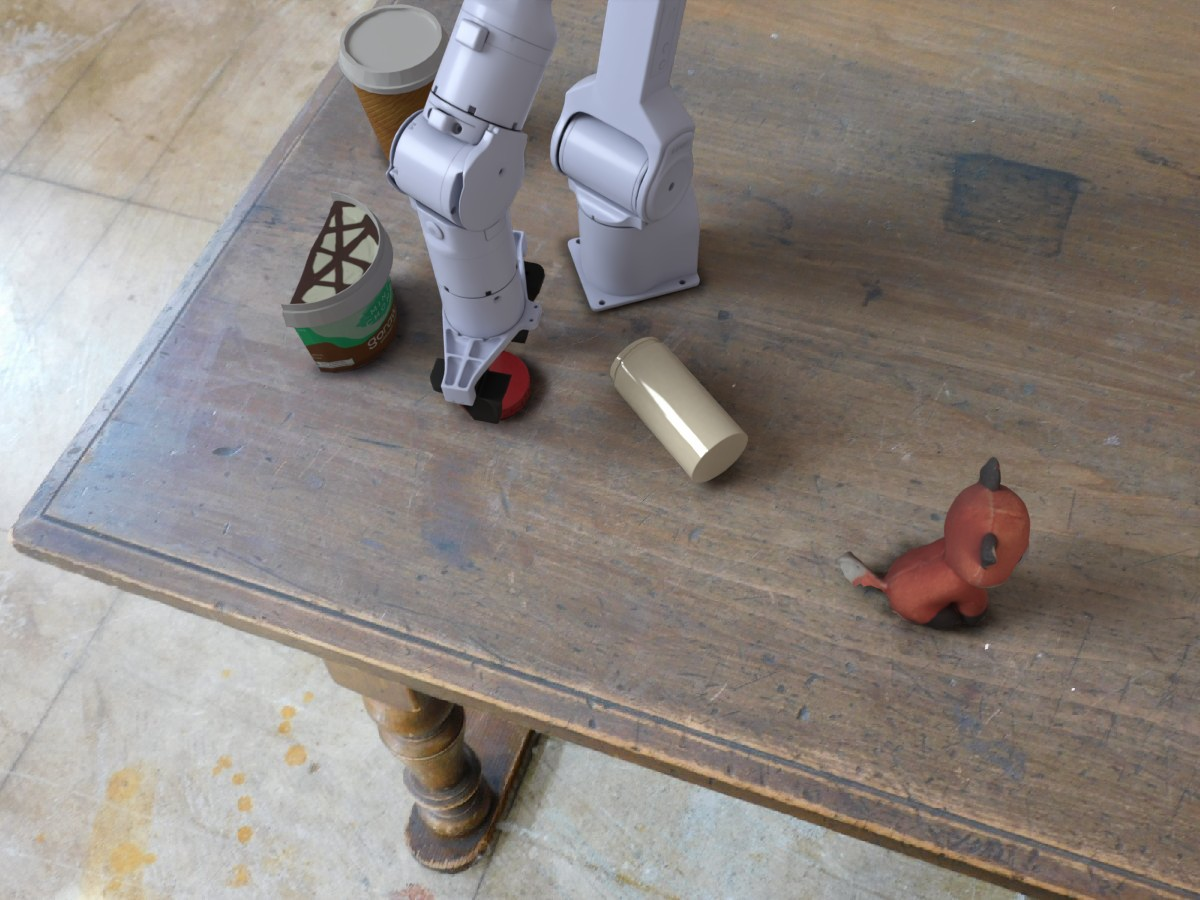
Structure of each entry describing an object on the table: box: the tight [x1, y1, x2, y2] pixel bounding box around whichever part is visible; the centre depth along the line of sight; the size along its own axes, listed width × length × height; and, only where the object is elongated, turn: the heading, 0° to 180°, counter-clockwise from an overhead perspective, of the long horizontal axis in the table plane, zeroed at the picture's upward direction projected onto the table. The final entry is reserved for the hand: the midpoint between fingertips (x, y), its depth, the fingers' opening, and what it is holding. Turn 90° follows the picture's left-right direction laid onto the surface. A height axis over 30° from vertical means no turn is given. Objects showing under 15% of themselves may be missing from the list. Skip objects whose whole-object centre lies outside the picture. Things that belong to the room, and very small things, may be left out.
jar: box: [609, 336, 749, 484], centre depth 81 cm, size 5×5×11 cm
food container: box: [280, 190, 399, 373], centre depth 85 cm, size 12×6×10 cm, turn 168°
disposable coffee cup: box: [337, 3, 450, 162], centre depth 95 cm, size 10×10×12 cm
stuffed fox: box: [837, 456, 1031, 631], centre depth 71 cm, size 8×11×12 cm
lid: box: [459, 350, 532, 420], centre depth 85 cm, size 6×6×1 cm
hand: (500, 377), depth 84 cm, fingers open, 7 cm apart
